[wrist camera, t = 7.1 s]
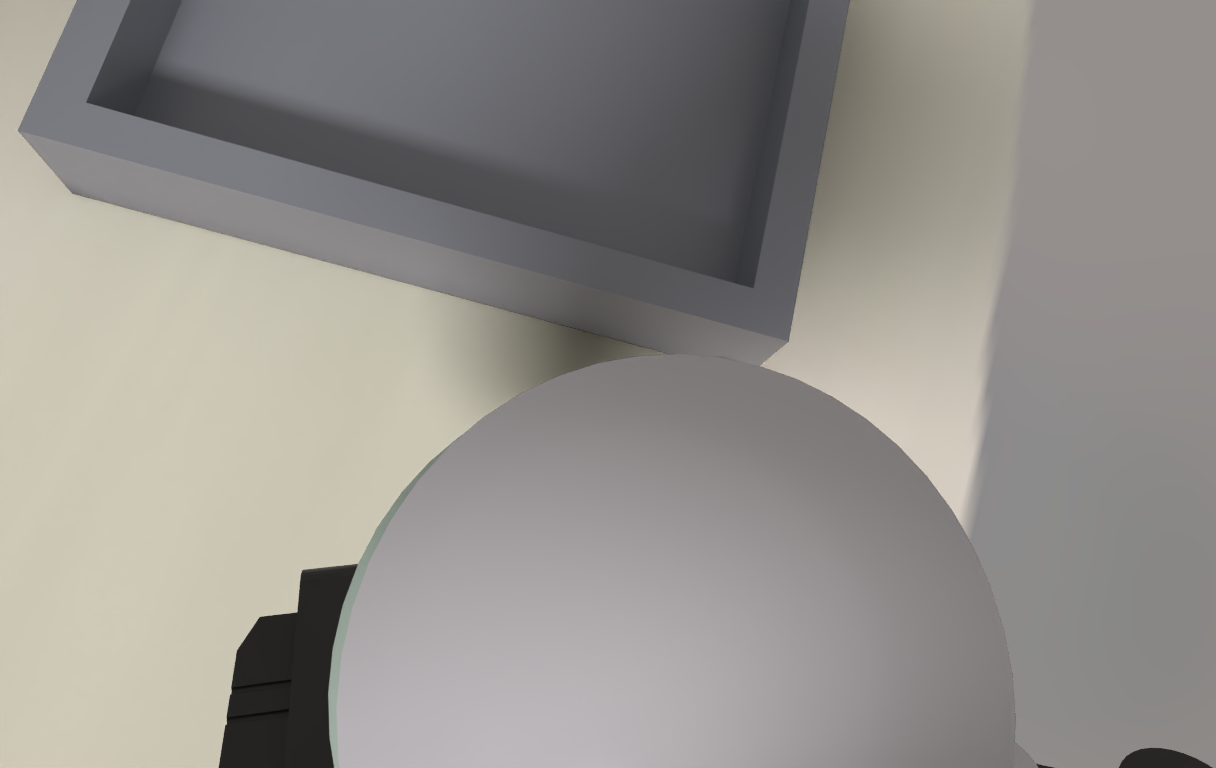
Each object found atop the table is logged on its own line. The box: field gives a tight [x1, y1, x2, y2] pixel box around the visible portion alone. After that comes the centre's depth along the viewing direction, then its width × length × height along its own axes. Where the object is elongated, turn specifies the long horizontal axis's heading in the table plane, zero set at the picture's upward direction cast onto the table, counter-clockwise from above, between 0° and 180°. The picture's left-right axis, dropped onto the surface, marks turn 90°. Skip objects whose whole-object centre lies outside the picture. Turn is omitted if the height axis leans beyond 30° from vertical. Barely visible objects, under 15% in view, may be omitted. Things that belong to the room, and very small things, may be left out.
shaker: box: [328, 354, 1016, 768], centre depth 12 cm, size 5×5×12 cm
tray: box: [18, 0, 849, 366], centre depth 28 cm, size 20×16×4 cm
